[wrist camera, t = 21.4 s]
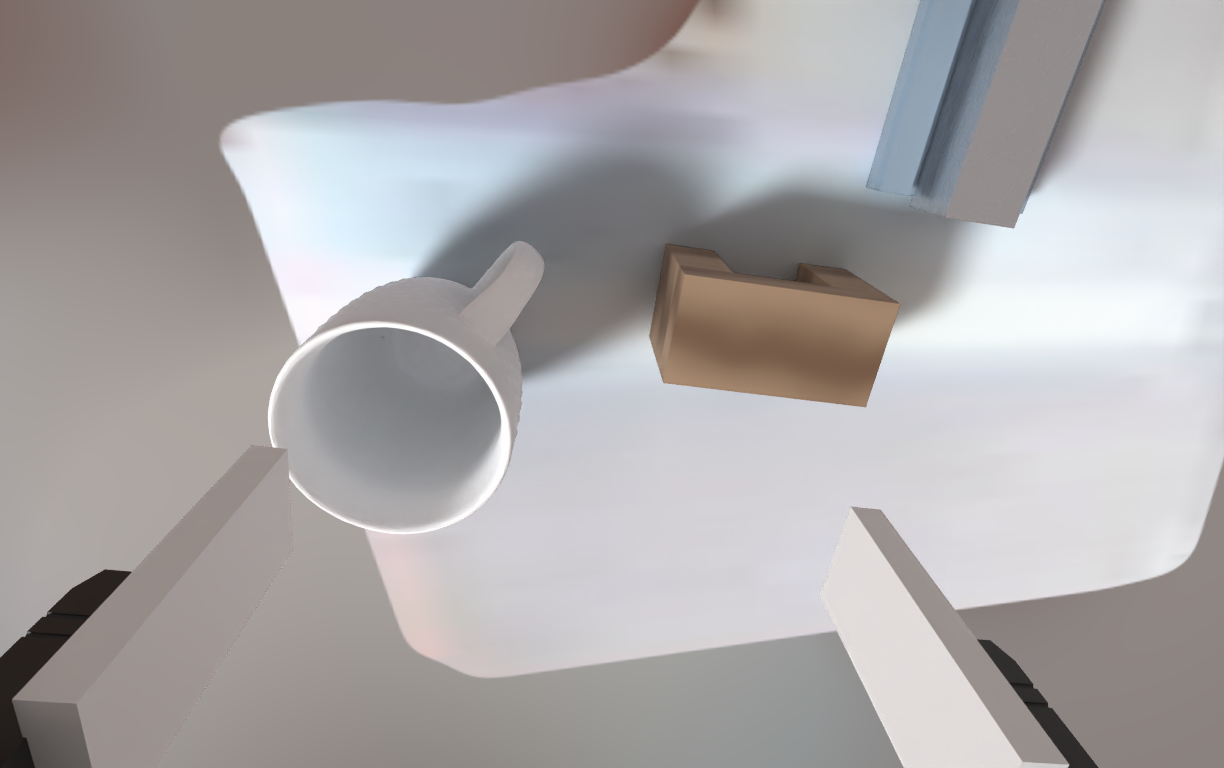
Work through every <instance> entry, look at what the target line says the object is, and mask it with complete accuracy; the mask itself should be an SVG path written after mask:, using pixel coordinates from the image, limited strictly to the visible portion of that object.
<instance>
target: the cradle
mask: <svg viewBox="0 0 1224 768" xmlns="http://www.w3.org/2000/svg"><path fill="white" fill-rule="evenodd" d="M1105 1H1106V0H1103V2H1102V4H1101V7H1100V9H1099V12H1098V14H1097V17H1096V19H1095V22H1094V25H1093V27H1092V30H1091V32H1090V35H1089V37H1088V40H1087V43H1086V45H1085V48H1084V50H1083V53H1082V55H1081V58H1080V60H1079V63H1078V66H1077V68H1076V71H1075V73H1074V76H1073V78H1072V81H1071V83H1070V86H1069V89H1068V91H1067V94H1066V96H1065V99H1064V101H1063V104H1062V107H1061V109H1060V112H1059V114H1058V117H1057V119H1056V122H1055V124H1054V127H1053V130H1052V132H1051V135H1050V137H1049V140H1048V142H1047V145H1046V148H1045V150H1044V153H1043V155H1042V158H1041V160H1040V163H1039V165H1038V168H1037V171H1036V173H1035V176H1034V178H1033V181H1032V183H1031V186H1030V188H1029V191H1028V194H1027V196H1026V199H1025V201H1024V204H1023V206H1022V209H1021V212H1020V213H1021V214H1023V211H1024V208H1025V206H1026V203H1027V201H1028V198H1029V196H1030V193H1031V190H1032V188H1033V185H1034V183H1035V180H1036V178H1037V175H1038V173H1039V170H1040V167H1041V165H1042V162H1043V160H1044V157H1045V155H1046V152H1047V149H1048V147H1049V144H1050V142H1051V139H1052V137H1053V134H1054V132H1055V129H1056V126H1057V124H1058V121H1059V119H1060V116H1061V114H1062V111H1063V108H1064V106H1065V103H1066V101H1067V98H1068V96H1069V93H1070V91H1071V88H1072V85H1073V83H1074V80H1075V78H1076V75H1077V73H1078V70H1079V67H1080V65H1081V62H1082V60H1083V57H1084V55H1085V52H1086V50H1087V47H1088V44H1089V42H1090V39H1091V37H1092V34H1093V32H1094V29H1095V26H1096V24H1097V21H1098V19H1099V16H1100V14H1101V11H1102V8H1103V6H1104V3H1105ZM975 3H976V0H921V1H920V5H919V8H918V12H917V15H916V18H915V22H914V25H913V29H912V32H911V36H910V39H909V42H908V46H907V49H906V53H905V56H904V59H903V63H902V66H901V70H900V73H899V77H898V80H897V83H896V87H895V90H894V94H893V97H892V100H891V104H890V107H889V111H888V114H887V117H886V121H885V124H884V128H883V131H882V135H881V138H880V141H879V145H878V148H877V152H876V155H875V158H874V162H873V165H872V169H871V172H870V175H869V179H868V182H867V186H866V187H867V188H871V189H875V190H879V191H883V192H887V193H894V194H900V195H906V196H910V195H914V191H915V188H916V185H917V182H918V179H919V176H920V173H921V170H922V167H923V164H924V161H925V157H926V154H927V151H928V148H929V145H930V142H931V139H932V136H933V133H934V130H935V127H936V124H937V120H938V117H939V114H940V111H941V108H942V105H943V102H944V99H945V96H946V93H947V90H948V86H949V83H950V80H951V77H952V74H953V71H954V68H955V65H956V62H957V59H958V56H959V53H960V49H961V46H962V43H963V40H964V37H965V34H966V31H967V28H968V25H969V22H970V19H971V16H972V12H973V9H974V6H975Z"/></svg>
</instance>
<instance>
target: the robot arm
mask: <svg viewBox="0 0 1224 768" xmlns="http://www.w3.org/2000/svg"><path fill="white" fill-rule="evenodd" d="M292 550H293V539H292V520H291V500H290V481H289V461H288V449H284V448H274V447H264V446H255V445H251V447H250V448H249V449H248V450H247V451H246V452H245V453H244V454H243V455H242V456H241V457H240V458H239V459H238V461H236V463H234V465H233V466H232V467H231V468H230V469H229V470H228V471H227V472H226V473H225V474H224V475H223V476H222V477H221V478H220V479H219V480H218V481H217V483H216V484H215V485H214V486H213V487H212V488H211V489H210V490H209V491H208V492H207V493H206V494H205V495H204V496H203V497H202V498H201V500H200V501H199V502H198V503H197V504H196V505H195V506H194V507H193V508H192V509H191V510H190V511H189V512H188V513H187V514H186V515H185V516H184V518H183V519H182V520H181V521H180V522H179V523H178V524H177V525H176V526H175V527H174V528H173V529H172V530H171V531H170V532H169V533H168V534H167V536H166V537H165V538H164V539H163V540H162V541H161V542H160V543H159V544H158V545H157V546H156V547H155V548H154V549H153V550H152V551H151V553H150V554H149V555H148V556H147V557H146V558H145V559H144V560H143V561H142V562H141V563H140V564H139V565H138V566H137V567H136V568H135V570H134V571H133V572H128V571H116V570H103V571H102V572H100V573H98V574H96V575H95V576H93V577H91V578H90V579H88V580H86V581H84V582H82V583H81V584H79V585H77V586H75V587H74V588H72V589H71V590H70V591H69V592H68V593H67V594H66V595H65V596H64V597H63V598H62V599H61V600H59V601H58V602H57V603H56V604H55V605H54V606H53V607H52V608H51V609H50V610H49V611H48V612H47V616H46V617H42V618H41V619H40V620H39V621H38V622H37V623H36V624H35V625H34V626H33V627H32V628H30V629H29V630H28V631H27V635H26V636H25V637H21V638H20V639H19V640H18V641H17V642H16V643H15V644H14V645H13V646H12V647H11V648H10V649H9V650H8V651H7V652H6V653H5V654H4V655H3V656H2V657H1V658H0V768H155V767H156V766H157V764H158V763H159V761H160V760H161V758H162V757H163V755H164V753H165V752H166V750H167V749H168V747H169V745H170V744H171V742H172V741H173V739H174V737H175V736H176V734H177V732H178V731H179V730H180V728H181V726H182V725H183V723H184V722H185V720H186V718H187V717H188V715H189V714H190V712H191V711H192V709H193V707H194V706H195V704H196V703H197V701H198V699H199V698H200V696H201V695H202V693H203V692H204V690H205V688H206V687H207V685H208V684H209V682H210V680H211V679H212V677H213V676H214V674H215V673H216V671H217V669H218V668H219V666H220V665H221V663H222V661H223V660H224V658H225V657H226V655H227V654H228V652H229V650H230V649H231V647H232V646H233V644H234V643H235V641H236V639H237V638H238V636H239V635H240V633H241V631H242V630H243V628H244V627H245V625H246V623H247V622H248V620H249V619H250V617H251V616H252V614H253V612H254V611H255V609H256V608H257V606H258V605H259V603H260V601H261V600H262V598H263V597H264V595H265V593H266V592H267V590H268V589H269V587H270V586H271V584H272V582H273V581H274V579H275V578H276V576H277V574H278V573H279V571H280V570H281V568H282V566H283V565H284V563H285V562H286V560H287V559H288V557H289V555H290V554H291V552H292ZM820 597H821V599H822V601H823V603H824V605H825V607H826V609H827V611H828V614H829V616H830V618H831V620H832V622H833V624H834V626H835V628H836V630H837V632H838V634H839V636H840V638H841V640H842V642H843V644H844V646H845V648H846V650H847V652H848V654H849V656H850V659H851V660H852V662H853V665H854V667H855V669H856V671H857V673H858V675H859V677H860V679H861V681H862V683H863V685H864V687H865V689H866V691H867V693H868V695H869V697H870V699H871V701H872V703H873V706H874V708H875V709H876V711H877V714H878V715H879V718H880V720H881V722H882V724H883V726H884V728H885V730H886V732H887V734H888V736H889V738H890V740H891V742H892V744H893V746H894V748H895V750H896V752H897V755H898V756H899V759H900V761H901V763H902V765H903V767H904V768H1098V767H1097V765H1096V764H1095V763H1094V761H1093V760H1092V759H1091V758H1090V756H1089V755H1088V754H1087V752H1086V751H1085V750H1084V749H1083V747H1082V746H1081V745H1080V743H1079V742H1078V741H1077V740H1076V738H1075V737H1074V736H1073V734H1072V733H1071V732H1070V731H1069V729H1068V728H1067V727H1066V726H1065V724H1064V723H1063V722H1062V721H1061V719H1060V718H1059V717H1058V715H1057V714H1056V713H1055V712H1054V710H1053V709H1052V708H1049V707H1048V702H1047V701H1046V700H1045V699H1044V697H1043V696H1042V695H1041V693H1040V692H1039V691H1038V690H1037V689H1034V688H1033V683H1032V682H1031V681H1030V679H1029V678H1028V677H1027V676H1026V674H1025V673H1024V672H1023V670H1022V669H1021V668H1020V667H1019V665H1018V664H1017V663H1016V661H1014V660H1013V659H1012V658H1011V657H1010V656H1008V655H1007V654H1006V653H1004V651H1002V650H1001V649H1000V648H999V647H998V646H996V645H995V644H994V643H993V642H991V641H990V640H978V639H976V638H975V636H974V635H973V634H972V632H971V631H970V630H969V628H968V627H967V626H966V624H965V623H964V622H963V620H962V619H961V618H960V616H959V615H958V614H957V612H956V611H955V609H954V608H953V607H952V605H951V604H950V603H949V601H948V600H947V599H946V597H945V596H944V595H943V593H942V592H941V591H940V589H939V588H938V586H937V585H936V584H935V582H934V581H933V580H932V578H931V577H930V576H929V574H928V573H927V572H926V570H925V569H924V568H923V566H922V565H921V564H920V562H919V561H918V559H917V558H916V557H915V555H914V554H913V553H912V551H911V550H910V549H909V547H908V546H907V545H906V543H905V542H904V541H903V539H902V538H901V537H900V535H899V534H898V532H897V531H896V530H895V528H894V527H893V526H892V524H891V523H890V522H889V520H888V519H887V518H886V516H885V515H884V514H883V512H882V511H881V510H878V509H868V508H858V507H851V508H850V511H849V514H848V516H847V519H846V522H845V525H844V528H843V531H842V534H841V537H840V539H839V542H838V545H837V548H836V551H835V554H834V557H833V559H832V562H831V565H830V568H829V571H828V574H827V577H826V579H825V582H824V585H823V588H822V591H821V594H820Z"/></svg>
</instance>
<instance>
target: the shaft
mask: <svg viewBox="0 0 1224 768" xmlns="http://www.w3.org/2000/svg"><path fill="white" fill-rule="evenodd" d="M1102 2H1103V0H976V3H975V6H974V9H973V12H972V16H971V19H970V22H969V25H968V28H967V31H966V34H965V37H964V40H963V43H962V46H961V49H960V53H959V56H958V59H957V62H956V65H955V68H954V71H953V74H952V77H951V80H950V83H949V86H948V90H947V93H946V96H945V99H944V102H943V105H942V108H941V111H940V114H939V117H938V120H937V124H936V127H935V130H934V133H933V136H932V139H931V142H930V145H929V148H928V151H927V154H926V157H925V161H924V164H923V167H922V170H921V173H920V176H919V179H918V182H917V185H916V188H915V191H914V195H913V198H912V201H911V204H910V207H913V208H917V209H920V210H923V211H926V212H929V213H932V214H935V215H938V216H942V217H945V218H951V219H957V220H964V221H970V222H977V223H983V224H989V225H996V226H1002V227H1009V228H1014V227H1015V224H1016V222H1017V219H1018V217H1019V214H1020V212H1021V209H1022V206H1023V204H1024V201H1025V199H1026V196H1027V194H1028V191H1029V188H1030V186H1031V183H1032V181H1033V178H1034V176H1035V173H1036V171H1037V168H1038V165H1039V163H1040V160H1041V158H1042V155H1043V153H1044V150H1045V148H1046V145H1047V142H1048V140H1049V137H1050V135H1051V132H1052V130H1053V127H1054V124H1055V122H1056V119H1057V117H1058V114H1059V112H1060V109H1061V107H1062V104H1063V101H1064V99H1065V96H1066V94H1067V91H1068V89H1069V86H1070V83H1071V81H1072V78H1073V76H1074V73H1075V71H1076V68H1077V66H1078V63H1079V60H1080V58H1081V55H1082V53H1083V50H1084V48H1085V45H1086V43H1087V40H1088V37H1089V35H1090V32H1091V30H1092V27H1093V25H1094V22H1095V19H1096V17H1097V14H1098V12H1099V9H1100V7H1101V4H1102Z"/></svg>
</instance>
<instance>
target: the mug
mask: <svg viewBox="0 0 1224 768" xmlns="http://www.w3.org/2000/svg"><path fill="white" fill-rule="evenodd" d="M544 269H545V265H544V261H543V258H542V257H541V255H540V254H539V253H538V252H537V250H536V249H535V248H534V247H532V246H531V245H530V244H528V243H526V242H523V241H516V242H514V243H512V244H511V245H510V246H509V247H508V248H507V249H506V250H505V251H504V252H503V253H502V254H501V255H500V256H499V258H498V259H497V260H496V261H495V262H494V264H493V265H492V266H491V267H490V268H489V269H488V271H487V272H486V273H485V274H484V275H483V276H482V278H481V279H480V280H479V281H478V282H477V284H476V285H475V286H474V287H473V288H468V287H467V286H465V285H462V284H460V283H458V282H454V281H452V280H446V279H443V278H434V277H419V278H418V277H414V278H411V279H410V278H408V279H401V280H399V281H395V282H390V283H388V284H385V285H384V286H378V287H376V288H375V289H373V290H372V291H369V292H366V293H364V294H363V295H361V296H360V297H359V298H357V299H355V300H353V301H351V302H350V303H349V304H348V305H346V306H344V307H343V308H342V309H340V310H339V311H338V313H337V314H335V315H333V316H331V317H330V318H329V319H328V321H327V322H326V323H325V324H323V325H321V326H320V327H319V328H318V329H317V331H316V332H315V333H314V334H313V335H312V336H311V337H309V338H308V339H307V340H306V341H305V342H304V343H303V344H302V345H301V346H300V347H299V348H298V349H297V350H296V351H295V352H294V353H293V355H292V356H291V357H290V358H289V359H288V360H287V362H286V363H285V365H284V366H283V368H282V370H281V371H280V373H279V375H278V377H277V379H276V381H275V384H274V387H273V390H272V393H271V396H270V402H269V409H268V424H269V433H270V438H271V442H272V445H273V447H274V448H284V449H288V461H289V478H290V479H291V480H292V482H293V483H294V484H295V486H296V487H297V488H298V489H299V490H300V491H301V492H302V493H303V494H304V495H305V496H306V497H307V498H308V499H309V500H311V501H312V502H313V503H315V504H316V505H317V506H319V507H320V508H321V509H323V510H325V511H326V512H328V513H330V514H332V515H333V516H335V517H337V518H339V519H341V520H343V521H345V522H348V523H351V524H353V525H356V526H359V527H362V528H365V529H369V530H373V531H379V532H383V533H393V534H413V533H422V532H428V531H433V530H437V529H441V528H444V527H447V526H449V525H452V524H454V523H456V522H458V521H460V520H462V519H464V518H466V517H467V516H469V515H471V514H472V513H473V512H475V511H476V510H477V509H479V508H480V507H481V506H482V505H483V504H484V503H485V502H486V501H487V500H488V499H489V498H490V497H491V496H492V495H493V493H494V492H495V491H496V489H497V488H498V486H499V485H500V483H501V481H502V480H503V478H504V476H505V474H506V471H507V468H508V466H509V462H510V459H511V455H512V450H513V445H514V441H515V438H516V436H517V425H518V423H519V418H520V416H519V413H520V409H521V404H522V402H521V397H522V375H521V369H522V366H521V364H520V361H519V352H518V350H517V348H516V343H515V340H514V338H513V337H512V332H511V330H510V327H511V326H512V325H513V324H514V322H515V321H516V319H517V318H518V316H519V315H520V313H521V311H522V310H523V308H524V307H525V305H526V304H527V303H528V301H529V300H530V298H531V297H532V295H533V294H534V292H535V290H536V288H537V287H538V285H539V283H540V281H541V279H542V276H543V273H544Z"/></svg>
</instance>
